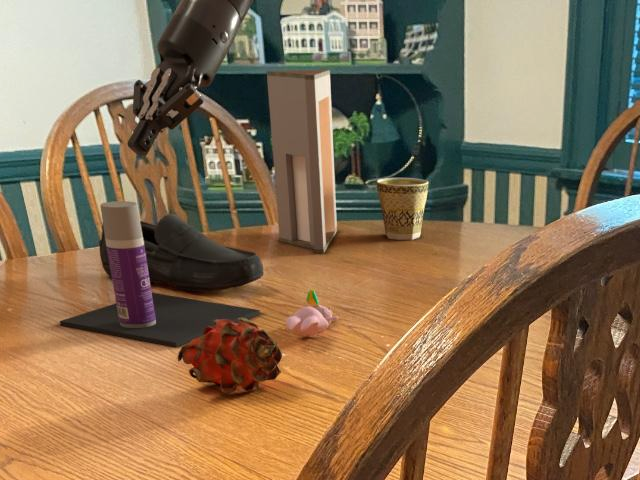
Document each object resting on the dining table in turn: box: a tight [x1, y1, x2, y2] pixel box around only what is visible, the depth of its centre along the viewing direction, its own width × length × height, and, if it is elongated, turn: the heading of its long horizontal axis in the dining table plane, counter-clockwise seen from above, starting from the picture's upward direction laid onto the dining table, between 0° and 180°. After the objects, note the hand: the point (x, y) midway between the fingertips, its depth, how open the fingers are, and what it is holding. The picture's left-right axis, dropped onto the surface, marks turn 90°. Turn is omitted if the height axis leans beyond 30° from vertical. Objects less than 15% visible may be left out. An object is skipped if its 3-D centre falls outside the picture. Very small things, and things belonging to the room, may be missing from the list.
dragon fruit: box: [175, 318, 283, 395], centre depth 102 cm, size 8×8×12 cm
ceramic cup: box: [375, 177, 429, 241], centre depth 177 cm, size 13×10×10 cm
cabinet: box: [266, 69, 338, 254], centre depth 165 cm, size 21×10×28 cm, turn 179°
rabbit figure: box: [285, 288, 339, 338], centre depth 120 cm, size 6×6×15 cm
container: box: [99, 200, 156, 328], centre depth 118 cm, size 5×5×15 cm
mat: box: [59, 292, 261, 348], centre depth 126 cm, size 20×18×1 cm
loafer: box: [98, 213, 265, 292], centre depth 140 cm, size 10×29×10 cm, turn 71°
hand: (136, 151), depth 116 cm, fingers closed
